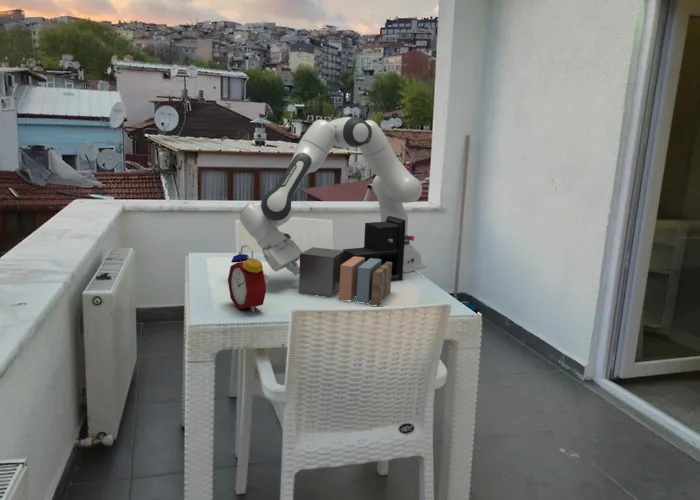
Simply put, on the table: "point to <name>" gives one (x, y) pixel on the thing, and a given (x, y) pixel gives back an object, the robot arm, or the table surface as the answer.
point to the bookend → (383, 244)
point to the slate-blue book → (366, 279)
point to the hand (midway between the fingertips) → (298, 273)
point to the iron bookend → (320, 271)
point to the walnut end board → (381, 283)
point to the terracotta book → (349, 278)
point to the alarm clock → (247, 281)
